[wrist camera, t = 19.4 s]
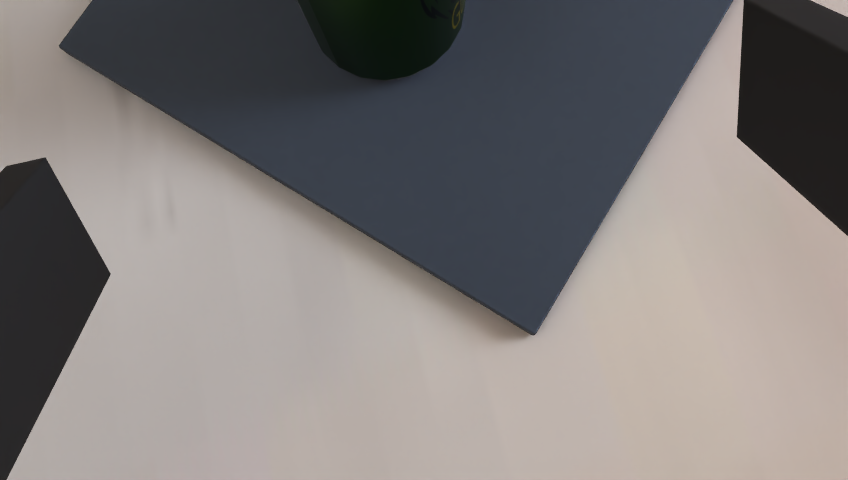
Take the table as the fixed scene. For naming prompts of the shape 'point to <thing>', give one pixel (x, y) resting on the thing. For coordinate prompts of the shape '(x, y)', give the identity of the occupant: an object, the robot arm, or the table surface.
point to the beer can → (384, 34)
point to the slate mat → (427, 121)
